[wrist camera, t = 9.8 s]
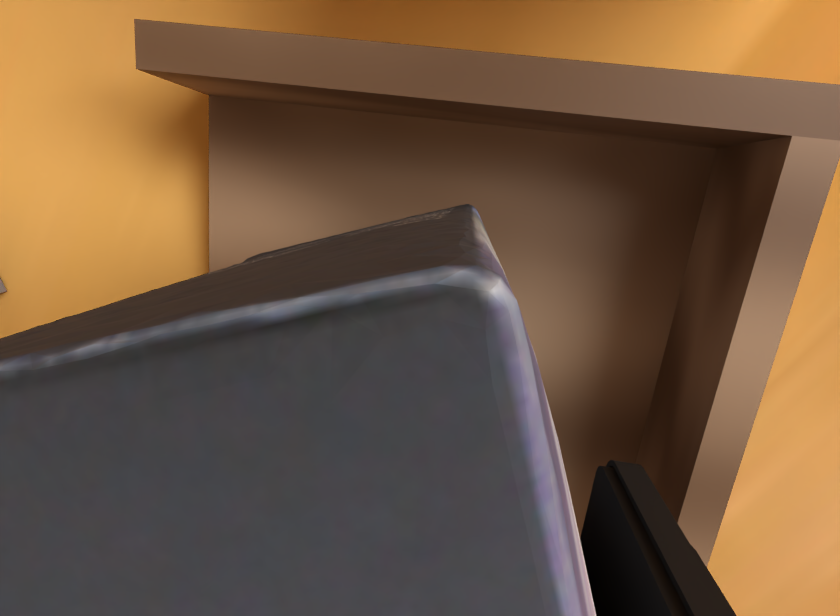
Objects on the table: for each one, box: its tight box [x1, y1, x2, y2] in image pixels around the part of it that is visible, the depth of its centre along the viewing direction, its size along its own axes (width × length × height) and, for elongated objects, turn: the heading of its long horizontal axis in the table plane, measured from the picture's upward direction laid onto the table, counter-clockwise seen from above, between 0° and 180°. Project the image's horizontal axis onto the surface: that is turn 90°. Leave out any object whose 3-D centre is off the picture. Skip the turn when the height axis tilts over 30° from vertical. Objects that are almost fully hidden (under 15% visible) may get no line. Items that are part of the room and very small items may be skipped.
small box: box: [0, 204, 596, 616], centre depth 8 cm, size 11×6×10 cm, turn 14°
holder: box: [134, 19, 840, 567], centre depth 14 cm, size 18×15×4 cm
